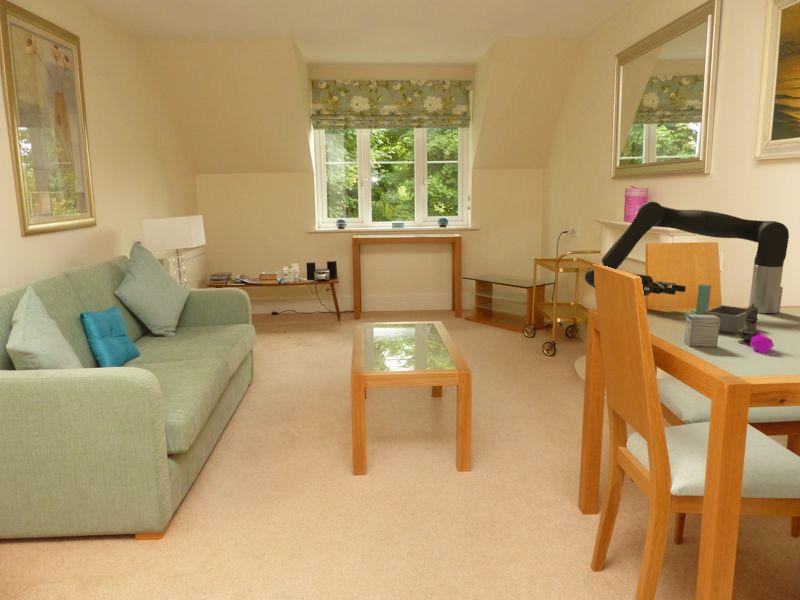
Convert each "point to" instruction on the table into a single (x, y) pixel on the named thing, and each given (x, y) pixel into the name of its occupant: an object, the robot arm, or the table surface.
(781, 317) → the table surface
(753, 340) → the magenta icosahedron
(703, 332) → the medicine box
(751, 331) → the grey chess bishop
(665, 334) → the table surface
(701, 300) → the lid
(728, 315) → the tub
